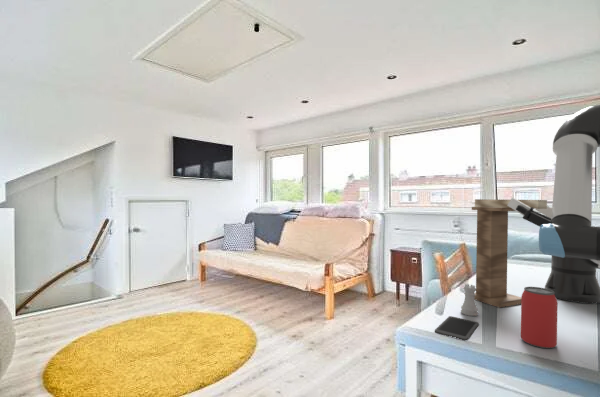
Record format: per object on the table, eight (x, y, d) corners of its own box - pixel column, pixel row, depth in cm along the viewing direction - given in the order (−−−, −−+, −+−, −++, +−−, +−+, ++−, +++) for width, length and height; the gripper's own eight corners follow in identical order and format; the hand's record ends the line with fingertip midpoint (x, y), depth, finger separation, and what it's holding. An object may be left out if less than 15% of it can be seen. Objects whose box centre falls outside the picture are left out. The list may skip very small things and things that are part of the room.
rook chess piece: (471, 317, 89) (472, 288, 89) (457, 312, 93) (457, 284, 93) (481, 315, 91) (482, 286, 91) (467, 310, 95) (467, 282, 95)
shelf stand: (524, 303, 102) (526, 207, 102) (499, 307, 97) (501, 207, 97) (494, 294, 111) (495, 207, 111) (470, 298, 106) (471, 206, 106)
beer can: (524, 346, 71) (525, 291, 71) (517, 334, 78) (518, 284, 78) (561, 352, 69) (562, 295, 69) (551, 339, 75) (551, 288, 75)
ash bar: (546, 208, 93) (547, 200, 93) (538, 208, 92) (538, 199, 92) (482, 206, 111) (482, 199, 111) (474, 206, 110) (474, 199, 110)
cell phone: (433, 333, 78) (433, 330, 78) (449, 318, 89) (449, 315, 89) (466, 342, 73) (467, 339, 73) (479, 325, 84) (479, 322, 84)
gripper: (559, 257, 78) (490, 210, 95) (615, 260, 87) (543, 217, 105) (579, 231, 74) (504, 188, 92) (635, 237, 84) (557, 197, 102)
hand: (524, 203), depth 98 cm, fingers open, 12 cm apart
